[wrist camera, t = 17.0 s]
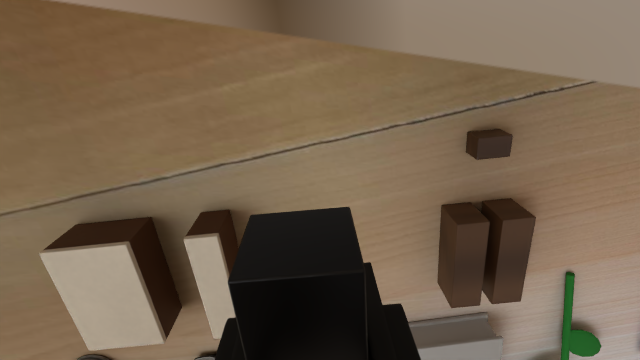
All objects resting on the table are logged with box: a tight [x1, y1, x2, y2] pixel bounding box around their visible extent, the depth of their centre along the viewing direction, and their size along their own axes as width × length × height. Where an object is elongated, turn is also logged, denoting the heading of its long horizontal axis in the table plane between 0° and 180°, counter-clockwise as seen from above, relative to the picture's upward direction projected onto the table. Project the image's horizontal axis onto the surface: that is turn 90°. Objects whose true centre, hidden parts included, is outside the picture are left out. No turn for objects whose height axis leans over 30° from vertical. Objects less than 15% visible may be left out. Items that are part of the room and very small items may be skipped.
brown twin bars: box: [438, 129, 536, 308], centre depth 32 cm, size 18×7×4 cm, turn 6°
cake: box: [39, 217, 182, 351], centre depth 33 cm, size 12×8×5 cm, turn 6°
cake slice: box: [184, 210, 239, 339], centre depth 33 cm, size 12×3×5 cm, turn 6°
